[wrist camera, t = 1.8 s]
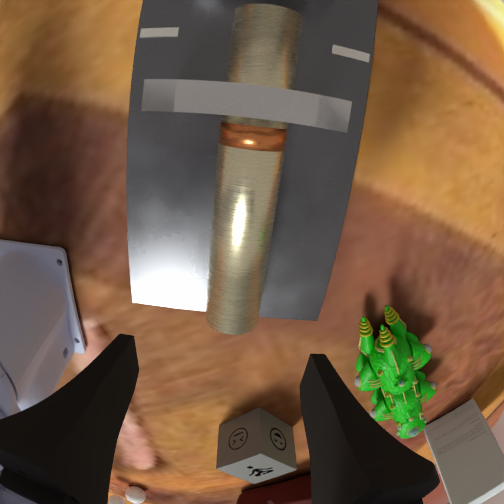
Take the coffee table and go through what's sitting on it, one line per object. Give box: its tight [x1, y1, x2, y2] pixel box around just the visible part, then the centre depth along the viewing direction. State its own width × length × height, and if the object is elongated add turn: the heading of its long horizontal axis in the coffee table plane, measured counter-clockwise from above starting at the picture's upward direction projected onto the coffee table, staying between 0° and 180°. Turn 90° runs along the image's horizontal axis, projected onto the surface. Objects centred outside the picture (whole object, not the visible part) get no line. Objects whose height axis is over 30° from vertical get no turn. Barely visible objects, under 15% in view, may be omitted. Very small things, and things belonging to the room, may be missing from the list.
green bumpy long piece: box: [355, 305, 436, 438], centre depth 23 cm, size 7×18×4 cm, turn 28°
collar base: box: [127, 0, 378, 321], centre depth 13 cm, size 22×12×6 cm, turn 173°
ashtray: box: [237, 474, 312, 504], centre depth 34 cm, size 18×16×5 cm
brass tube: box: [206, 4, 303, 335], centre depth 15 cm, size 16×3×3 cm, turn 173°
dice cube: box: [216, 407, 297, 484], centre depth 25 cm, size 5×5×5 cm
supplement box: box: [424, 398, 504, 504], centre depth 24 cm, size 7×7×13 cm
